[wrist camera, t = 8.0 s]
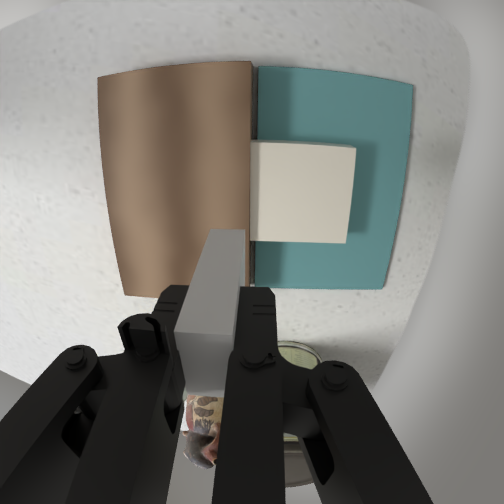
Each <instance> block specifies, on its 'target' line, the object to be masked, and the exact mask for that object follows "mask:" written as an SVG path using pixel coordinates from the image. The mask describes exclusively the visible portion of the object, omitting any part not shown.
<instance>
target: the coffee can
mask: <svg viewBox="0 0 504 504" xmlns="http://www.w3.org/2000/svg"><path fill="white" fill-rule="evenodd" d="M278 349H279V352H280V353H281V355H282V356H283V357H284V358H285V359H286V360H287V361H289V362H290V363H292V364H294V365H297V366H300V367H304V368H308V369H313V368H314V367H315V366H316V365H317V364H320V363H322V360H321V358H320V356H319V355H318V354H317V353H316V352H315V351H314V350H313V349H311V348H310V347H308V346H306V345H303V344H300V343H296V342H289V341H281V342H278ZM284 461H285V488H286V487H296V486H302V485H307V484H311V483H314V481H313V478H312V476H311V473H310V470H309V468H308V465H307V463H306V460H305V457H304V454H303V452H302V449H301V446H300V444H299V441H298V438H297V436H295V435H291V434H287V433H284Z"/></svg>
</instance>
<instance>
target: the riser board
mask: <svg viewBox="0 0 504 504" xmlns="http://www.w3.org/2000/svg"><path fill="white" fill-rule="evenodd" d="M252 91H253V65H252V63H251V61H227V62H205V63H191V64H179V65H170V66H161V67H154V68H146V69H140V70H133V71H128V72H122V73H117V74H111V75H107V76H102V77H98V116H99V133H100V147H101V158H102V168H103V177H104V185H105V193H106V200H107V207H108V214H109V220H110V226H111V232H112V237H113V243H114V248H115V253H116V258H117V263H118V268H119V272H120V277H121V281H122V286H123V290H124V294H125V295H127V296H139V297H152V298H159V296H160V294H161V292H162V291H164V290H165V289H166V288H167V287H168V286H169V285H190V283H191V280H192V278H193V275H194V272H195V269H196V267H197V264H198V261H199V258H200V256H201V253H202V250H203V248H204V245H205V242H206V240H207V237H208V234H209V232H210V229H241V230H245V286H249V287H250V254H251V241H250V142H251V140H252Z"/></svg>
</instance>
